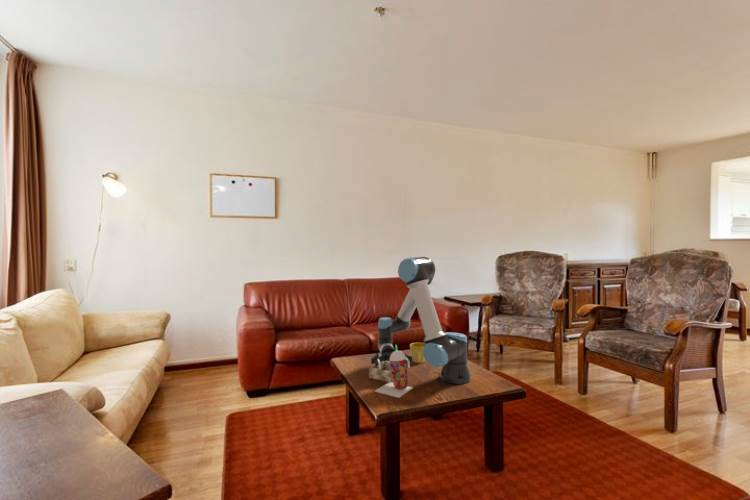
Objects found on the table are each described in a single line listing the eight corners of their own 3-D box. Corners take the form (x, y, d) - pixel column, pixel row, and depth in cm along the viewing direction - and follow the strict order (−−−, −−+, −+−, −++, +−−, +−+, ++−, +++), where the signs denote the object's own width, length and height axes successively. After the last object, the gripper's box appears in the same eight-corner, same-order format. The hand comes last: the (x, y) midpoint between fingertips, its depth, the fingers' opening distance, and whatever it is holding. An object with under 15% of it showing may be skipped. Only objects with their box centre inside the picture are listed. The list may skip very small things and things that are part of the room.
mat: (412, 388, 177) (412, 387, 177) (399, 397, 166) (399, 397, 166) (389, 382, 184) (389, 381, 184) (374, 391, 173) (374, 390, 173)
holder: (407, 374, 195) (406, 364, 195) (392, 383, 184) (392, 373, 183) (384, 369, 204) (383, 360, 203) (369, 377, 192) (368, 367, 191)
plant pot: (409, 358, 221) (409, 342, 221) (426, 358, 221) (426, 342, 221) (410, 364, 211) (410, 347, 210) (429, 364, 211) (428, 347, 210)
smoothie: (410, 383, 180) (404, 342, 181) (409, 389, 171) (404, 345, 173) (393, 385, 181) (388, 344, 182) (392, 390, 172) (386, 347, 174)
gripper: (411, 358, 195) (420, 372, 174) (364, 360, 192) (367, 375, 171) (411, 343, 195) (420, 356, 174) (364, 345, 192) (367, 358, 171)
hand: (394, 365), depth 172 cm, fingers open, 13 cm apart
